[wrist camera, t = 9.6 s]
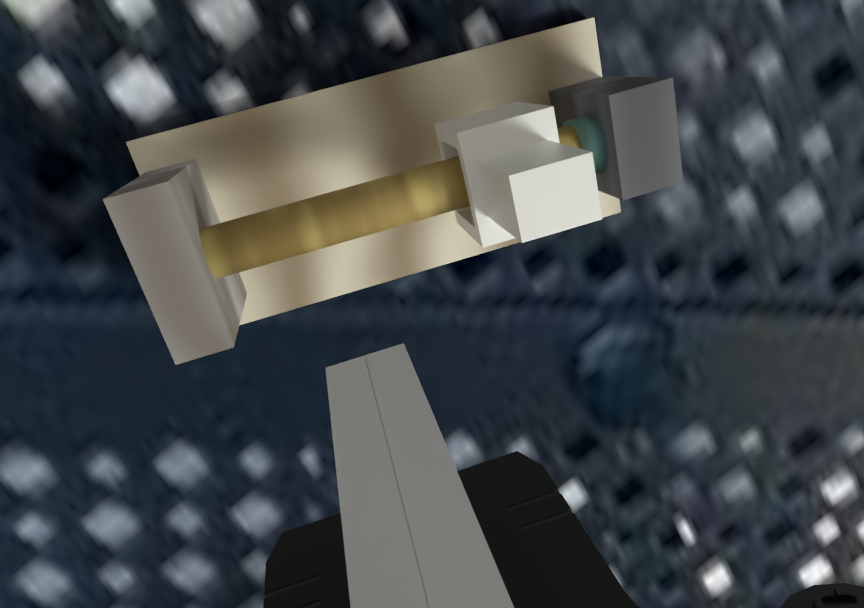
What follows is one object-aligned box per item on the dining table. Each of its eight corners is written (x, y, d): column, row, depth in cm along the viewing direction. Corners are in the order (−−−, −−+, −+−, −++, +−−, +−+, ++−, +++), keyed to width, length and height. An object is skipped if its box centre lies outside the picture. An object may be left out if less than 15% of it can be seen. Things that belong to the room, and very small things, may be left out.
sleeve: (457, 223, 31) (515, 278, 23) (434, 124, 30) (487, 144, 21) (534, 200, 32) (619, 246, 23) (516, 101, 30) (601, 112, 22)
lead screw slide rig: (207, 329, 34) (182, 398, 27) (130, 140, 30) (76, 161, 23) (614, 209, 36) (692, 242, 29) (587, 18, 32) (669, 2, 25)
